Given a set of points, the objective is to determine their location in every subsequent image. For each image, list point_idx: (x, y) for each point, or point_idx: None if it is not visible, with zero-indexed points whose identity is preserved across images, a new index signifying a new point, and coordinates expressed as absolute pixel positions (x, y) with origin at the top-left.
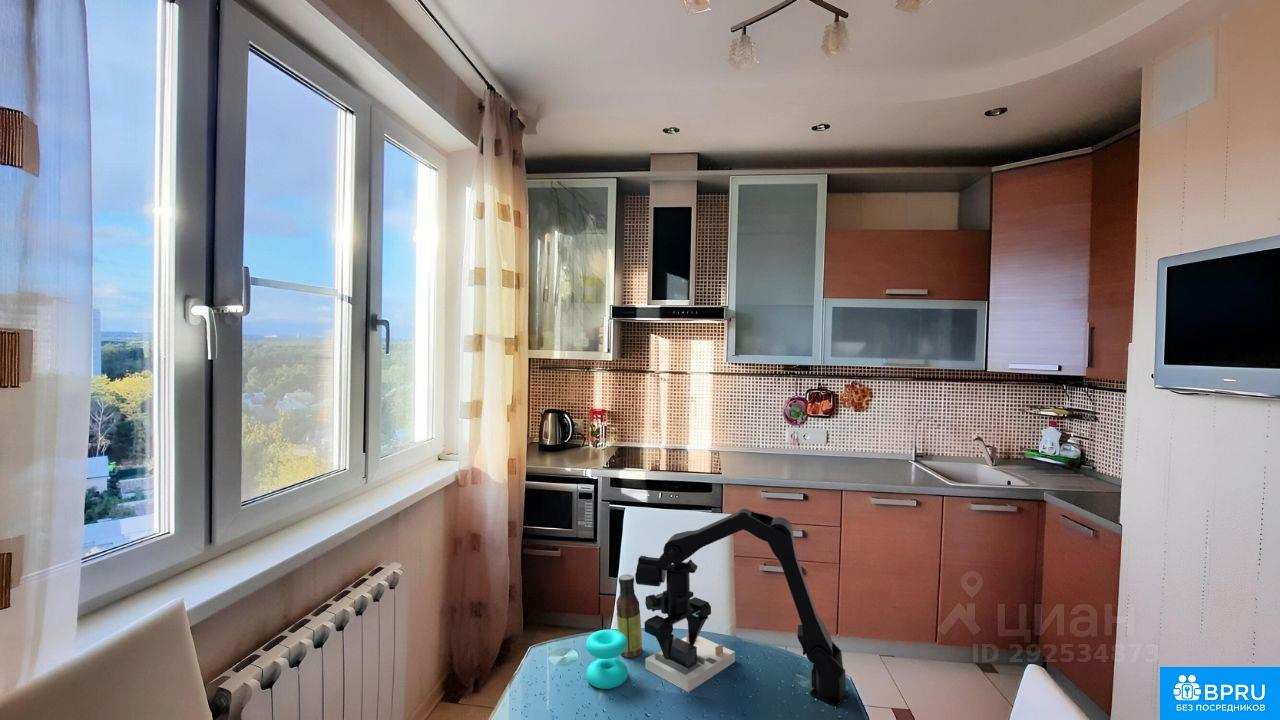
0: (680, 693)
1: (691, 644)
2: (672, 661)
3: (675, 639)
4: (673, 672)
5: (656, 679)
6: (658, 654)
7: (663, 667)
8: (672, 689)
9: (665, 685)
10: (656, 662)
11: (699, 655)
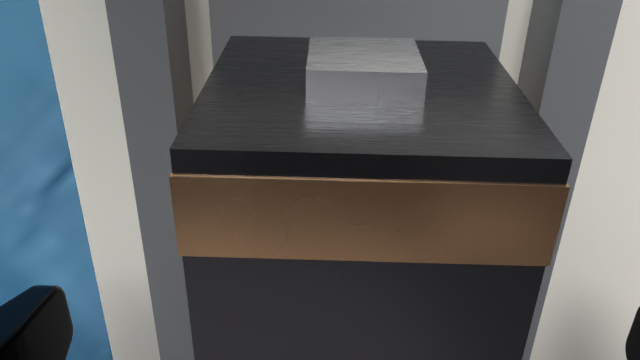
0: (102, 353)
1: (635, 338)
2: (179, 283)
3: (461, 272)
4: (118, 315)
5: (51, 85)
6: (146, 12)
7: (90, 180)
8: (82, 286)
9: (66, 213)
10: (82, 34)
11: (611, 310)
